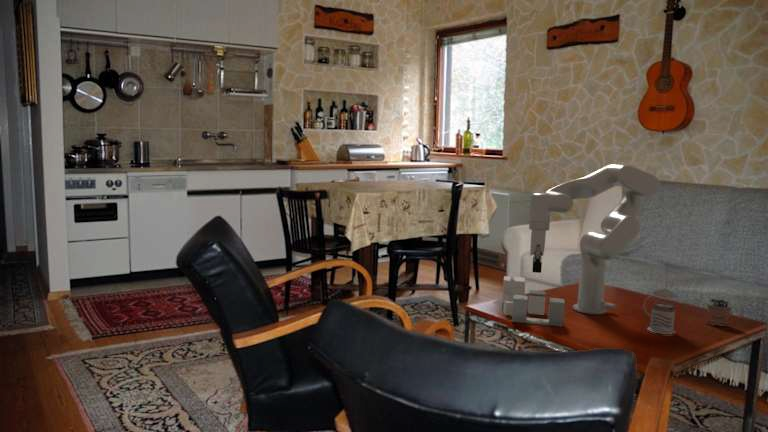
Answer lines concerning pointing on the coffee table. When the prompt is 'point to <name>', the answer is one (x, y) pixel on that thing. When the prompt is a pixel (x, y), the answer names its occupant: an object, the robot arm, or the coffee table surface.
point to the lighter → (718, 312)
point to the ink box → (512, 287)
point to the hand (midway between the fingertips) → (536, 269)
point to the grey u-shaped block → (520, 316)
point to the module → (536, 302)
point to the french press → (660, 325)
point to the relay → (508, 307)
